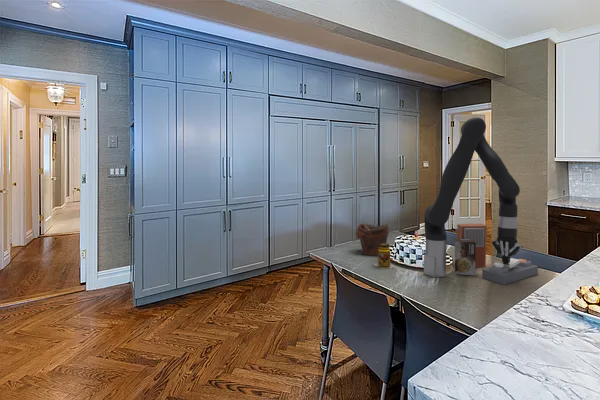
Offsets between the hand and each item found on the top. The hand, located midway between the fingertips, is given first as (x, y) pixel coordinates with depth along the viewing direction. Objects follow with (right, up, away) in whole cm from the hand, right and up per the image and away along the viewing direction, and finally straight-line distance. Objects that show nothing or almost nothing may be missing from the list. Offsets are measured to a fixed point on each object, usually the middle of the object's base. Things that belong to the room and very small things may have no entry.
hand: (505, 263), depth 153 cm
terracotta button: (+11, -2, +6) cm, 13 cm away
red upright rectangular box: (-6, -5, +20) cm, 21 cm away
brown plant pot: (-50, -3, +50) cm, 71 cm away
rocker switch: (+3, -1, +2) cm, 4 cm away
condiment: (-50, -6, +23) cm, 55 cm away
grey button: (-5, -2, -2) cm, 5 cm away
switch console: (+4, -6, +2) cm, 8 cm away
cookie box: (-15, -6, +9) cm, 18 cm away
